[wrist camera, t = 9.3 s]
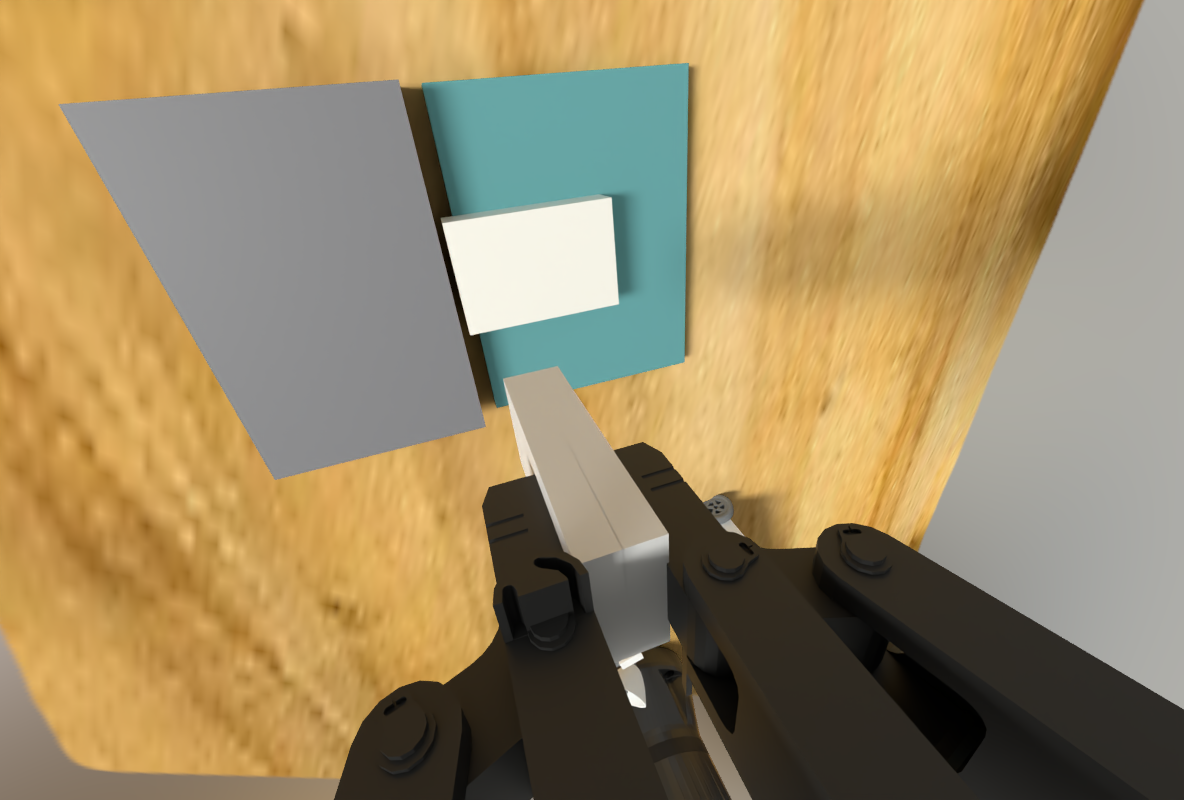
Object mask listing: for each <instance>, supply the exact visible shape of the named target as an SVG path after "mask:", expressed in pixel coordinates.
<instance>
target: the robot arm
mask: <svg viewBox="0 0 1184 800" xmlns="http://www.w3.org/2000/svg"><path fill="white" fill-rule="evenodd" d="M503 381H504V385H505V390H506V395H507V399H508V404H509V409H510V413H511V418H512V423H513V427H514V432H515V436H516V441H517V446H518V450H519V455H520V460H521V463H522V466H523V469H524V472H525V475H526V477H524V478H520V479H517V480H513V481H509V482H506V483H502V484H499V485H495V486H492V487H489V489H488V491H487V494H486V497H485V500H484V502H483V505H482V508H483V513H484V519H485V524H486V528H487V535H488V540H489V544H490V551H491V556H492V561H493V567H494V572H495V577H496V583H497V584H496V586H495V588H494V596H493V608H494V611H495V614H496V617H497V620H498V623H499V629H498V631H497V633H496V635H495V637H494V639H493V641H492V643H491V644H490V646H489V647H488V648H487V649H486V651H485V652H484V653H483V655H481V656H480V657H479V658H478V659H477V660H476V661H475V662H474V663H472V664H471V665H470V666H469V667H467V668H466V669H465V670H463V671H462V672H461V673H459V674H458V675H457V676H455V677H454V678H452V679H451V680H450V681H448V682H447V683H446V684H444V685H443V684H441V683H439V682H433V681H417V682H414V683H411V684H408V685H405V686H402V687H399V688H398V689H397V690H395V691H394V692H392V693H391V694H390V695H388V696H387V697H385V698H384V699H382V700H381V701H380V702H379V703H378V704H377V705H376V706H375V708H374V709H373V710H372V711H371V712H370V714H369V715H368V716H367V717H366V718H365V719H364V721H363V722H362V724H361V726H360V728H359V730H358V732H357V735H356V737H355V739H354V741H353V743H352V745H351V748H350V751H349V754H348V757H347V760H346V764H345V767H344V770H343V773H342V776H341V779H340V783H339V786H338V789H337V792H336V795H335V798H334V800H530V799H531V798H534V800H731V798H730V796H729V794H728V792H727V789H726V788H725V785H724V784H723V781H722V779H721V777H720V775H719V774H718V771H717V769H716V767H715V765H714V763H713V761H712V759H711V757H710V755H709V753H708V751H707V749H706V747H705V745H704V743H703V740H702V738H701V736H700V733H699V729H698V724H697V719H696V714H695V709H694V704H693V698H692V684H693V686H694V688H695V690H696V692H697V694H698V695H699V697H700V699H701V701H702V703H703V705H704V707H705V709H706V711H707V713H708V715H709V717H710V719H711V720H712V723H713V724H714V726H715V728H716V730H717V732H718V734H719V736H720V738H721V740H722V742H723V744H724V746H725V748H726V750H727V751H728V753H729V755H730V757H731V759H732V761H733V763H734V765H735V767H736V769H737V771H738V773H739V775H740V777H741V779H742V781H743V782H744V784H745V786H746V788H747V790H748V792H749V794H750V796H751V798H752V800H1184V709H1182V708H1180V707H1179V706H1177V705H1175V704H1173V703H1172V702H1170V701H1168V700H1167V699H1165V698H1163V697H1162V696H1160V695H1158V694H1157V693H1154V692H1153V691H1151V690H1150V689H1148V688H1146V687H1145V686H1143V685H1141V684H1140V683H1138V682H1136V681H1135V680H1133V679H1131V678H1130V677H1128V676H1126V675H1124V674H1123V673H1121V672H1119V671H1118V670H1116V669H1114V668H1113V667H1111V666H1109V665H1108V664H1106V663H1104V662H1103V661H1101V660H1099V659H1097V658H1095V657H1094V656H1092V655H1091V654H1089V653H1087V652H1086V651H1084V650H1082V649H1081V648H1079V647H1077V646H1075V645H1074V644H1072V643H1070V642H1069V641H1067V640H1065V639H1063V638H1062V637H1060V636H1059V635H1057V634H1055V633H1053V632H1052V631H1050V630H1048V629H1047V628H1045V627H1043V626H1042V625H1040V624H1038V623H1037V622H1035V621H1033V620H1031V619H1030V618H1028V617H1026V616H1025V615H1023V614H1021V613H1019V612H1018V611H1016V610H1015V609H1013V608H1011V607H1009V606H1008V605H1006V604H1004V603H1003V602H1001V601H999V600H997V599H996V598H994V597H993V596H991V595H989V594H987V593H986V592H984V591H982V590H981V589H979V588H977V587H976V586H974V585H972V584H971V583H969V582H967V581H965V580H964V579H962V578H960V577H959V576H957V575H955V574H954V573H952V572H950V571H949V570H947V569H945V568H944V567H942V566H940V565H938V564H937V563H935V562H933V561H932V560H930V559H928V558H927V557H925V556H923V555H922V554H920V553H918V552H916V551H915V550H913V549H911V548H910V547H908V546H906V545H905V544H903V543H901V542H900V541H898V540H896V539H895V538H893V537H891V536H889V535H888V534H885V533H883V532H881V531H879V530H876V529H874V528H872V527H868V526H864V525H859V524H854V523H850V524H836V525H834V526H831V527H829V528H827V529H825V530H824V531H823V532H822V533H821V535H820V536H819V537H818V540H817V544H816V547H815V548H794V549H765V548H760V547H759V546H758V545H757V544H756V543H754V542H753V541H752V540H751V539H749V538H747V537H745V536H742V535H740V534H737V533H735V532H728V531H726V530H725V529H724V528H723V527H722V525H721V524H720V523H719V522H718V521H717V519H716V518H715V517H714V516H713V514H712V513H711V512H710V511H709V510H708V508H707V507H706V506H705V505H704V503H703V502H702V501H701V500H700V499H699V497H698V496H697V495H696V494H695V493H694V491H693V490H692V489H691V488H690V486H689V485H688V484H687V483H686V482H684V481H683V478H682V477H681V475H680V474H679V473H678V472H677V471H676V469H675V470H674V468H673V466H672V464H671V463H670V462H669V461H668V460H667V458H666V457H665V456H664V455H663V453H662V452H660V451H658V450H657V449H655V448H653V447H651V446H649V445H647V444H646V443H644V442H642V443H638V444H634V445H631V446H627V447H624V448H620V449H617V450H613V449H612V447H611V446H610V444H609V443H608V441H607V440H606V438H605V437H604V435H603V434H602V432H601V431H600V429H599V428H598V426H597V425H596V423H595V422H594V420H593V419H592V417H591V416H590V414H589V413H588V411H587V410H586V408H585V407H584V405H583V404H582V402H581V401H580V399H579V398H578V396H577V395H576V393H575V392H574V390H573V389H572V387H571V386H570V384H569V383H568V381H567V380H566V378H565V377H564V375H563V374H562V372H561V371H560V369H559V368H558V366H556V367H552V368H547V369H543V370H538V371H534V372H530V373H525V374H521V375H517V376H512V377H508V378H504V379H503ZM670 624H671V626H672V628H673V630H674V631H675V633H676V635H677V637H678V639H679V641H680V643H681V644H682V663H681V661H680V659H679V657H678V656H677V655H676V654H675V653H674V652H673V651H671V650H669V649H666V648H661V647H657V646H659V645H662V644H664V643H667V642H669V641H670ZM639 653H642V655H643V657H644V658H643V659H641V660H639V661H638V662H636V665H637V667H638V668H639V670H640V672H641V674H642V677H643V681H644V687H645V695H646V707H645V708H639V707H635V706H632V705H631V703H630V701H629V698H628V696H627V693H626V690H625V688H624V685H623V683H622V680H621V678H620V675H619V673H618V669H620V668H621V666H618V667H617V668H616V665H615V663H616V662H619V661H621V660H624V659H627V658H629V657H632V656H634V655H637V654H639Z"/></svg>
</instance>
